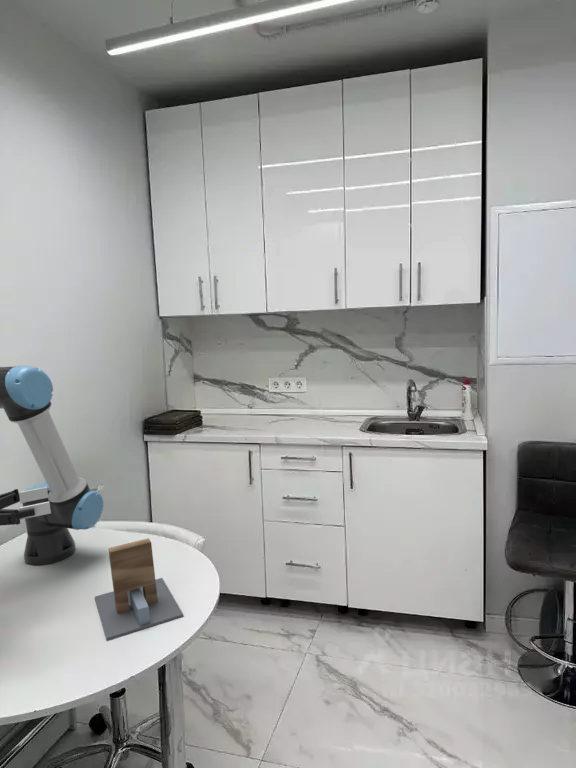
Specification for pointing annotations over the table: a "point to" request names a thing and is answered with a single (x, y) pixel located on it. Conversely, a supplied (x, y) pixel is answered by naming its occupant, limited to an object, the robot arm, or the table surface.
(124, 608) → the brown notched block
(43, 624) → the table surface
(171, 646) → the table surface
